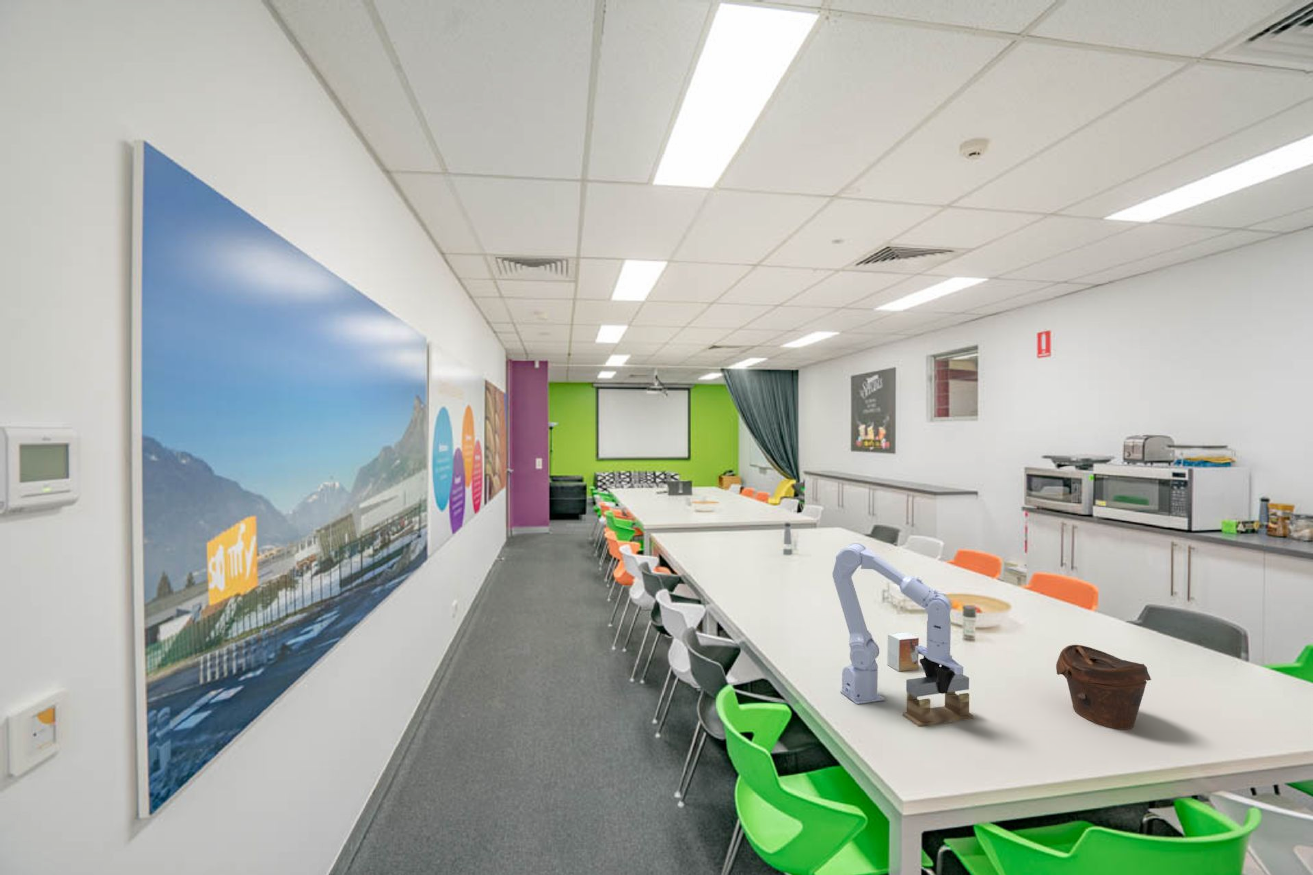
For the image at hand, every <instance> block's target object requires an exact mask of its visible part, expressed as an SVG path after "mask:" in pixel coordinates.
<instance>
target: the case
mask: <svg viewBox="0 0 1313 875" xmlns="http://www.w3.org/2000/svg"><path fill="white" fill-rule="evenodd" d="M1055 668H1056V675H1058V676H1059V675H1062V676H1064V678H1065V679H1066V681H1067V685H1068V690H1069V695H1070V699H1071V703H1072V708H1073V710H1074V711H1075V713H1077V714H1078V715H1079V716H1081V717H1083V718H1084V719H1086V720H1087V721H1090V722H1093V723H1095V724H1098V725H1101V726H1104V727H1107V728H1112V729H1119V730H1127V729H1132V728H1133V727H1134V726H1135V723H1136V720H1137V717H1138V713H1139V711H1140V707H1141V704H1142V703H1141V702H1142V699H1143V696H1144V693H1145V688H1146V686H1147V683H1148V681H1151V680H1152V678H1151V676H1150V673H1149V671H1148V668H1147V665H1145V664H1144V663H1139V662H1133V661H1129V660H1126V659H1121V658H1119V657H1116V656H1115V655H1112V654H1110V653H1108V652H1105V651H1102V650H1099V649H1096V648H1092V647H1089V646H1086V645H1082V644H1070V645H1067V646H1065V647H1064V648H1063V649H1062V650H1061V651H1060V653H1059V656H1058V658H1057V661H1056V664H1055Z"/></svg>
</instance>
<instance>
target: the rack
mask: <svg viewBox="0 0 1313 875" xmlns="http://www.w3.org/2000/svg"><path fill="white" fill-rule="evenodd" d="M905 710H906V711H903V712H902V713H901V715H902V716H903V717H904V718H906V719H907V721H909V722H911V723H912V724H914V725H916V726H917V727H919V728H921V727H928V726H933V725H940V724H944V723H945V724H946V723H951V722H958V721H965V720H969V719H974V714H972V713H970V693H969V692H966V693H965V692H964V693H959V694H957V693H956V691H954V692H947V693H944V705H942V706H937V707H931V699H930V698H923V699H918V697H914V696H913V695H911V694H910V693H908V692H906V708H905Z"/></svg>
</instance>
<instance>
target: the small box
mask: <svg viewBox="0 0 1313 875" xmlns="http://www.w3.org/2000/svg"><path fill="white" fill-rule="evenodd" d="M919 641H920V640H919V637H918V636H915V635H914V634H911V633H909V632H907V631H905V632H902V633H901V632H899V633H888V634H887V654H886V655H887V657H886V658H887V666H889V667H890V668H892V669H894V670H895V671H897V672H903V671H917V670H919V654H917V653H915V646H920V645H919V644H920V643H919Z"/></svg>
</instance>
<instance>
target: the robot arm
mask: <svg viewBox="0 0 1313 875" xmlns="http://www.w3.org/2000/svg"><path fill="white" fill-rule="evenodd" d="M859 567H860V569H861V570H873V571H875V572H877V573H878V574H880V575H881V576H883V577H884V578H886V579H887V580H889V581H891V582H893V583H894V584H896V585H897V586H898V587H899V589H900V593H901V594H903V595H904V596H905V597H907V598H908V599H910V600H911V601H912V602H914V603H915V604H916V605H918V606H920V607H921V608H924V609H925V613H926V614H927V621H926V647H925V646H922V645H919V646H915V653H917V654H918V655H921V656H923V658H920V659H919V664H920V665H921V667H922V669H923V672H924V674H925V677H930V676H937V677H938V687H939V693H940V694H941V695H943V694H944V695H945V693H947V692H948V688H949V685H950V683H951V681H952V679H953V677H954V676H955V674H957V675H959V674H963V675H964V666H962V665H961V664H959V663H958V662H957V661H956V660H955V659H953V655H951V628H952V627H951V611H952V608H953V605H952V601H951V599H950V598H949V597H948V596H947V595H946V594H944V593H942V592H939V591H938V590H937V589H933V588H931V587H930V586H928V585H927V584H926V583H924V582H922V581H923V579H922V578H920V577H917V578H916V577H915V576H913V575H912V576H906V575H904V574H903V573H902V572H901V571H899V570H898V569H896V568H895V567H894V566H892V564H890V563H889V562H887V561H886V560H884V558H882V557H881V556H879V555H878V554H876V552H874V551H873V550H871V549H870V548H867V547H866V546H865V545H863V544H862V543H859V542H854V543H851V544H849V545H848V546H847V547H844V548H842V549H840V551H839V552H838V554H837V555H836V556H835V563H834V566H833V569H832V570H833V571H832V578H833V579H832V580H833V582H834V586H835V589H836V592H837V596H838V598H839V603H840V606H841V609H842V613H843V616H844V620H845V622H846V626H847V629H848V633H849V639H848V640H849V641H848V645H849V649H850V652H849V660H850V661H851V663H850V665H848V666H845V667H844V668H843V669H842V674H841V676H842V677H841V689H840V693H842V694H843V695H845V697H847V698H848V699H850V700H851V701H852V702H854V703H855V704H856V705H861V704H868V703H875V702H880V701H885V698H884V697H883V696H881V695H880V694H879V693H878V687H879V686H878V678H879V676H878V675H879V672H878V671H879V670H878V669H879V668H878V667H879V666H878V663H877V660H876V659H877V658H878V657H879V654H880V648H879V645H878V644H877V642H876V641H875V640H874V638H873V636H872V632H870V631H869V630H868V628H867V625H866V621H865V618H864V614H863V611H862V608H861V604H860V601H859V598H858V594H857V592H856V588H855V585H854V582H853V578H852V576H853V575H854V574H855V572H856V571H857V569H858V568H859Z"/></svg>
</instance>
